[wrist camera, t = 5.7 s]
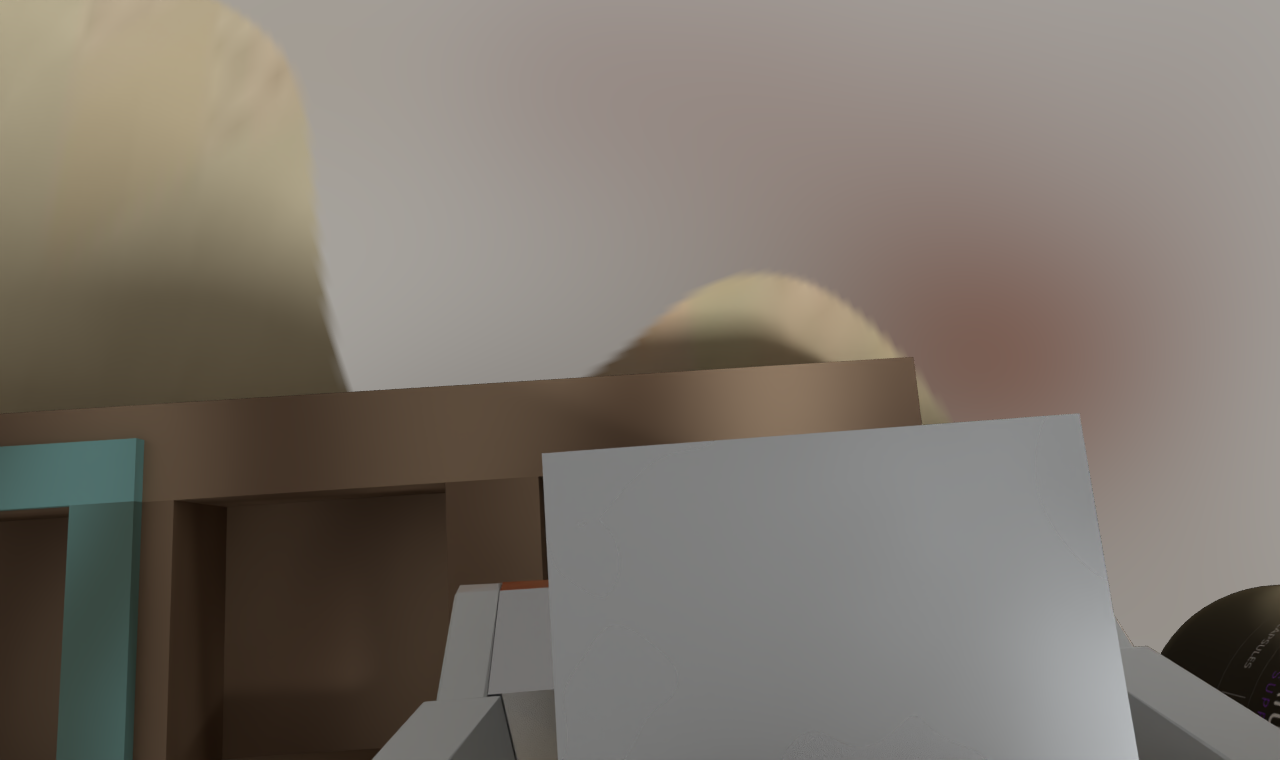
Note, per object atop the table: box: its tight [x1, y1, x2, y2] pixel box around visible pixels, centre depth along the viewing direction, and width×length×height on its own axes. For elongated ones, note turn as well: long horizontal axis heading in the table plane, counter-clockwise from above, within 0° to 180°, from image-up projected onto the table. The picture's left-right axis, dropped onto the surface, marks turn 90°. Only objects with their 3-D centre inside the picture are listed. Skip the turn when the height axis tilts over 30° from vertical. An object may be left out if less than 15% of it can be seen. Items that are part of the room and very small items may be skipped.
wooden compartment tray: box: [0, 357, 922, 760], centre depth 18 cm, size 24×9×3 cm, turn 94°
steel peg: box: [542, 414, 1139, 760], centre depth 11 cm, size 4×4×10 cm
